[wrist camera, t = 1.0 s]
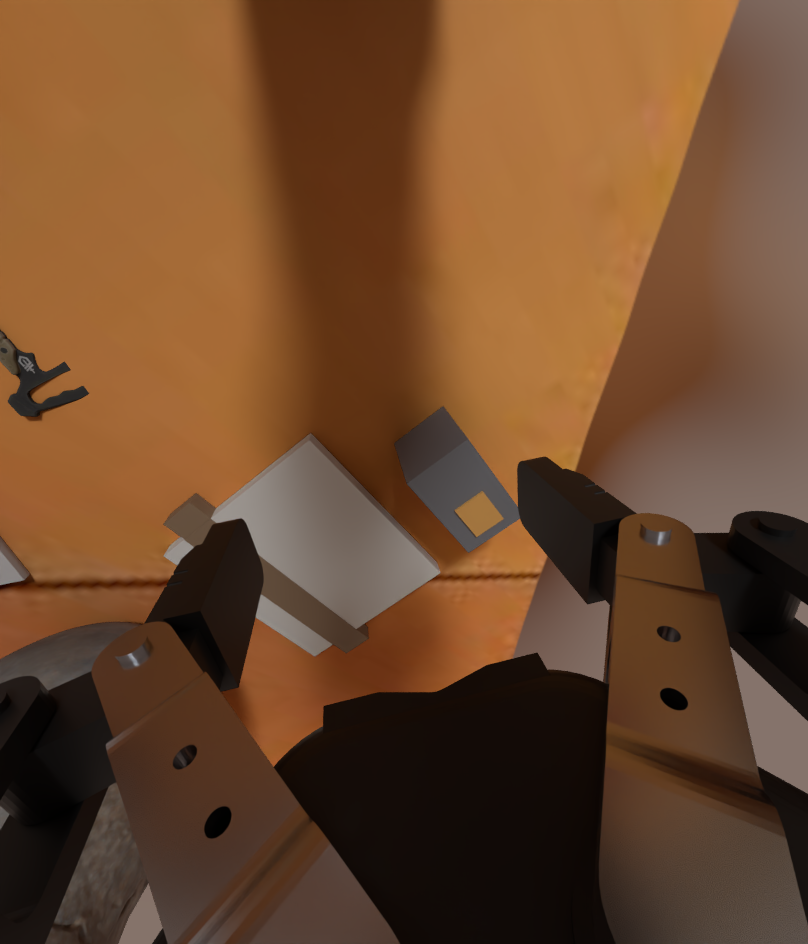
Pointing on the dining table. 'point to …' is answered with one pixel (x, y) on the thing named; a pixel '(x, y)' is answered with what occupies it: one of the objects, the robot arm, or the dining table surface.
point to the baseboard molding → (10, 566)
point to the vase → (111, 838)
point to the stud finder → (454, 481)
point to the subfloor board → (314, 548)
